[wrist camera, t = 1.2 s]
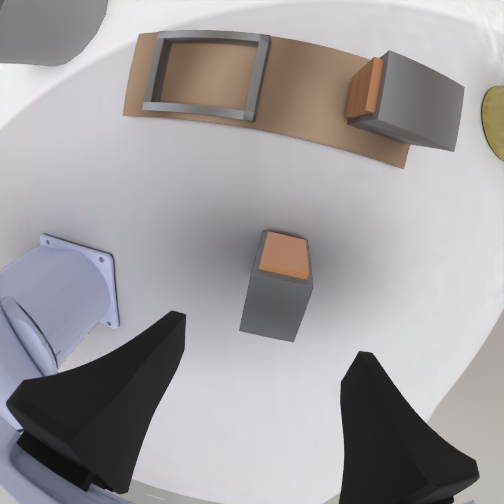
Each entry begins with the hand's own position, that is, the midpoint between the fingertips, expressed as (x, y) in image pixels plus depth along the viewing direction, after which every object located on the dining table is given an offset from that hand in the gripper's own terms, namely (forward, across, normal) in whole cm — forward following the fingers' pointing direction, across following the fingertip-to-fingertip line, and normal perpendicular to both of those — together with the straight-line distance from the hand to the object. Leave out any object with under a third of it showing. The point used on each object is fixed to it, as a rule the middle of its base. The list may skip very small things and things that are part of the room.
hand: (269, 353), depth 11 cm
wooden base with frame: (+9, +3, -11) cm, 15 cm away
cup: (+10, +21, -17) cm, 29 cm away
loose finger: (+9, 0, 0) cm, 9 cm away
